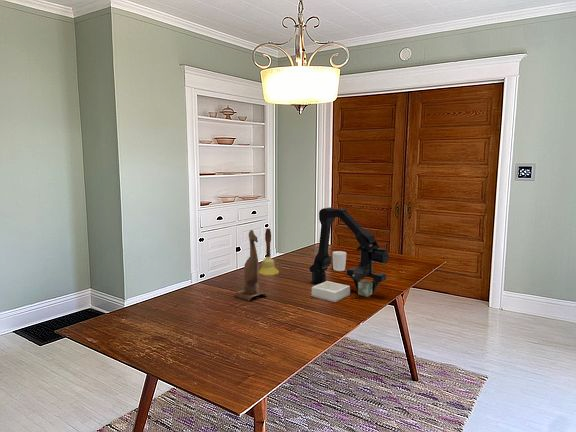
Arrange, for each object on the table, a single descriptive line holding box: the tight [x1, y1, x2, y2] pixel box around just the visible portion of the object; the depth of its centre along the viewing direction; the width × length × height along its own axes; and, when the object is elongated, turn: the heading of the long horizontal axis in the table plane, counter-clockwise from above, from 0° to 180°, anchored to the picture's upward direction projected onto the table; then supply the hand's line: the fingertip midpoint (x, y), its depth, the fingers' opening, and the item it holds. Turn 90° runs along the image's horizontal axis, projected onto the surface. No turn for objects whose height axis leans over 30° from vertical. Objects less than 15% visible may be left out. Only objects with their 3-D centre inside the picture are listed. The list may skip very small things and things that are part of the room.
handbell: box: [259, 228, 280, 276], centre depth 242 cm, size 12×12×25 cm
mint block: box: [357, 279, 373, 298], centre depth 207 cm, size 5×5×6 cm
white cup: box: [332, 250, 347, 272], centre depth 249 cm, size 8×8×10 cm
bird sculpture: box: [234, 229, 269, 303], centre depth 201 cm, size 11×12×32 cm
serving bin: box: [311, 280, 351, 303], centre depth 204 cm, size 13×13×4 cm
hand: (365, 292), depth 207 cm, fingers open, 8 cm apart
